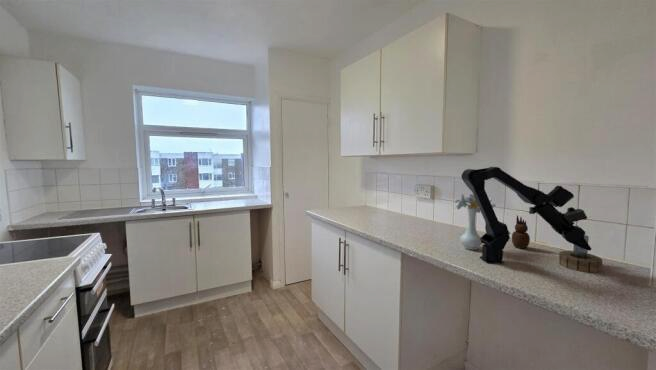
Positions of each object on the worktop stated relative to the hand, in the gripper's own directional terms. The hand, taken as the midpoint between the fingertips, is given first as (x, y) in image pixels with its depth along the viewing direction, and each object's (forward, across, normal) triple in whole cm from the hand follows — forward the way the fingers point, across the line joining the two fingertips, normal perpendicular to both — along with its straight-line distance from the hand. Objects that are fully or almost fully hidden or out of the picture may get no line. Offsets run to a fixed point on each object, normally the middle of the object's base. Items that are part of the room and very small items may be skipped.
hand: (585, 246), depth 106 cm
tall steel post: (+5, 0, +7) cm, 8 cm away
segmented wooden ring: (+5, 0, +7) cm, 8 cm away
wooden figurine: (-7, +17, +18) cm, 26 cm away
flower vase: (-21, +8, +33) cm, 40 cm away
